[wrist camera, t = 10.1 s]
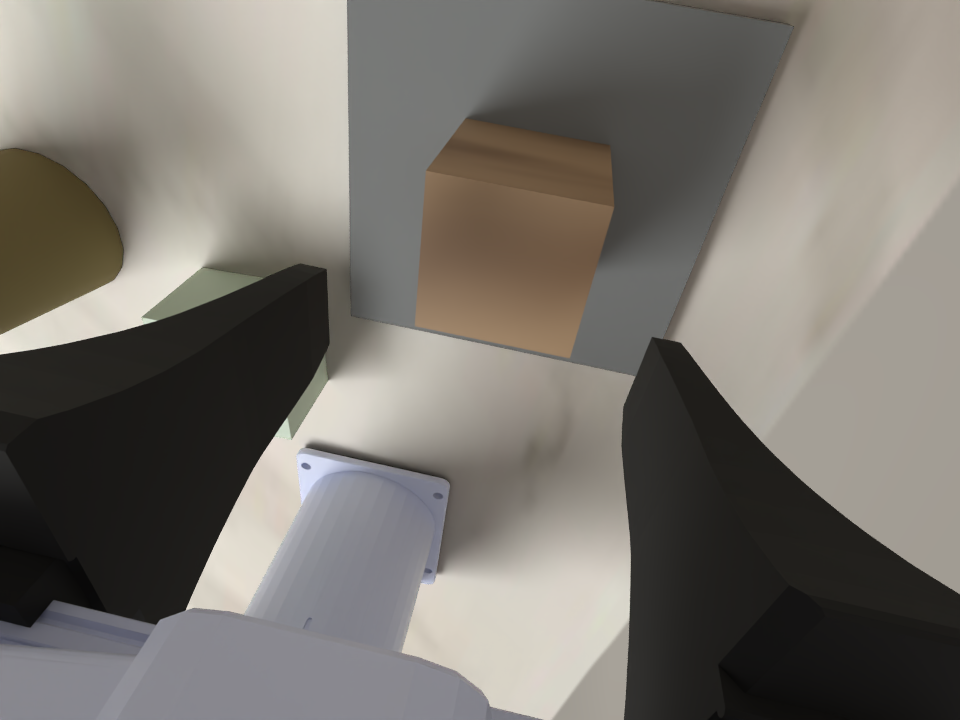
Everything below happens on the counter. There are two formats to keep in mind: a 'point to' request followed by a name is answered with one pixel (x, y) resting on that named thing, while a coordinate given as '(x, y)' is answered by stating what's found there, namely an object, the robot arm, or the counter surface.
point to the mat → (559, 111)
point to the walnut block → (512, 235)
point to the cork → (49, 238)
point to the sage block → (214, 286)
